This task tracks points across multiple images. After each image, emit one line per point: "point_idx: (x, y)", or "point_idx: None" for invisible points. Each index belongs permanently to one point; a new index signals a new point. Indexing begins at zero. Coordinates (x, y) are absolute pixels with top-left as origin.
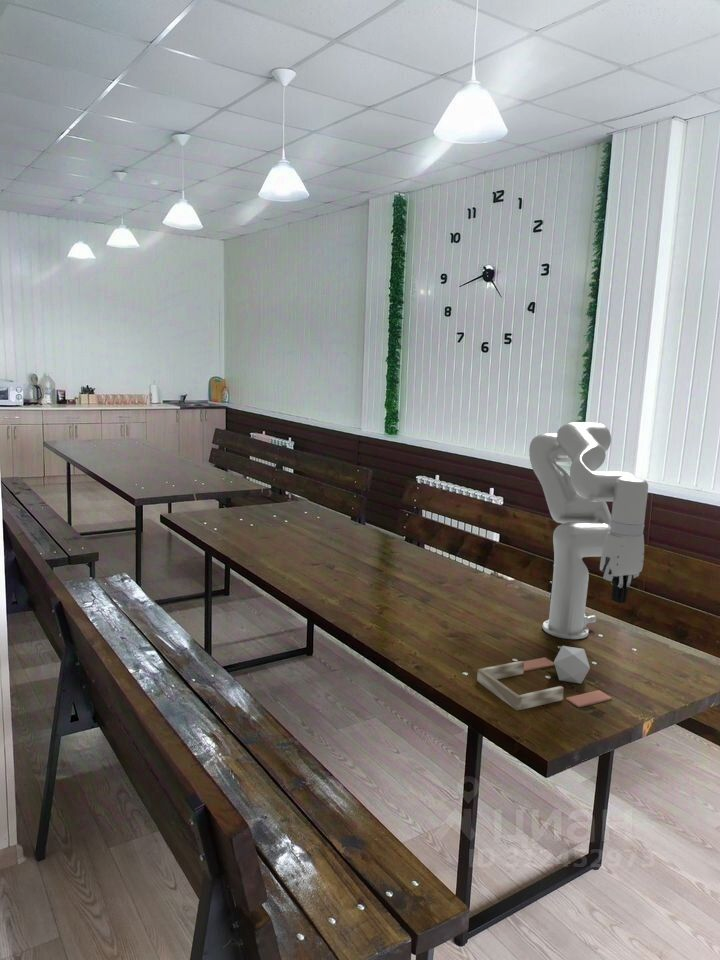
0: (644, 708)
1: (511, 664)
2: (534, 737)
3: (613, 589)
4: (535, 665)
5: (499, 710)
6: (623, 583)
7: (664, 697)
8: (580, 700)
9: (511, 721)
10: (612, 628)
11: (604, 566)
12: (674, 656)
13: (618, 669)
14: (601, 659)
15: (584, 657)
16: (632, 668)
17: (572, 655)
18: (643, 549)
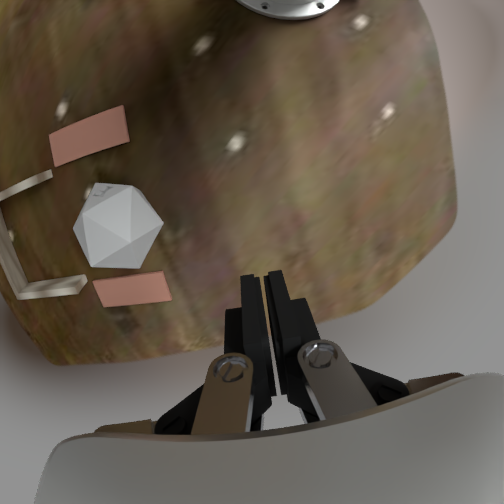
0: (213, 330)
1: (18, 190)
2: (43, 339)
3: (225, 347)
4: (82, 147)
5: None
6: (296, 399)
7: None
8: (111, 295)
9: (22, 307)
10: (409, 14)
11: (106, 477)
12: (435, 173)
13: (273, 190)
14: (268, 130)
15: (126, 258)
16: (311, 193)
17: (90, 265)
18: None
